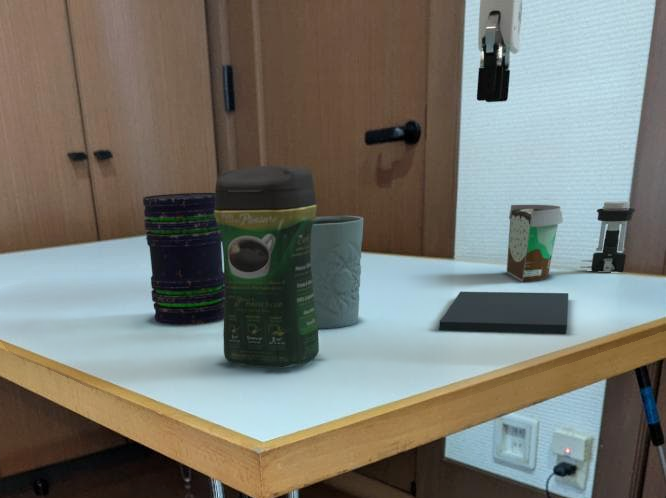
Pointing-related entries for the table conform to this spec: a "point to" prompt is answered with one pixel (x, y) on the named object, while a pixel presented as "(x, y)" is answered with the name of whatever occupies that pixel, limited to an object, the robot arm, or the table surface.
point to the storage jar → (185, 258)
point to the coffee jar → (267, 265)
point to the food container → (532, 240)
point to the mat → (507, 312)
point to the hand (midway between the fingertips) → (492, 100)
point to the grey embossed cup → (336, 269)
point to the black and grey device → (611, 237)
